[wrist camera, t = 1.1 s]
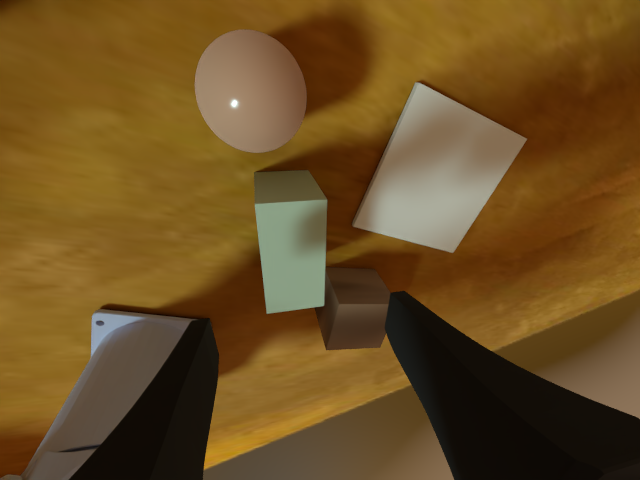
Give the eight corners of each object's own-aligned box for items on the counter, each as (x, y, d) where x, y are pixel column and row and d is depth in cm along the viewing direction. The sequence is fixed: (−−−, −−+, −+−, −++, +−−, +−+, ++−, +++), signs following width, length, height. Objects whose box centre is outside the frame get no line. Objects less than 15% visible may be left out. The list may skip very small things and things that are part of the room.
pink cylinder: (279, 145, 17) (288, 165, 13) (204, 119, 16) (186, 132, 11) (302, 67, 15) (321, 60, 11) (220, 29, 14) (206, 5, 10)
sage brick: (308, 257, 22) (324, 306, 17) (263, 262, 21) (266, 313, 16) (308, 169, 18) (327, 199, 14) (254, 171, 18) (254, 204, 13)
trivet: (450, 250, 24) (453, 252, 24) (351, 224, 21) (353, 226, 21) (522, 138, 20) (527, 138, 20) (415, 82, 17) (419, 82, 17)
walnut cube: (361, 308, 26) (380, 347, 22) (314, 308, 24) (326, 350, 21) (374, 268, 24) (397, 304, 20) (324, 266, 22) (339, 304, 19)
